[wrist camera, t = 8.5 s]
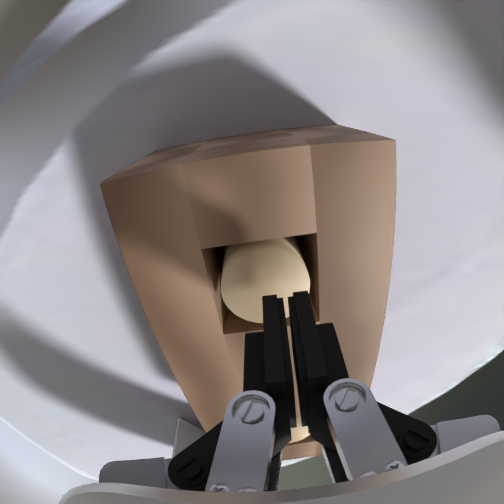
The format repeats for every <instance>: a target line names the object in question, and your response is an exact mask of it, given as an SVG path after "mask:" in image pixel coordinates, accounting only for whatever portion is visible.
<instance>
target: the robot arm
mask: <svg viewBox="0 0 504 504" xmlns="http://www.w3.org/2000/svg"><path fill="white" fill-rule="evenodd" d="M262 305H263V331H260V332H250V333H245V346H244V377H243V392H242V393H239V394H238V395H236V396H235V397H233V398H232V400H231V401H230V402H229V404H228V406H227V408H226V412H225V416H224V419H223V420H222V421H221V422H220V423H218V424H217V425H216V426H215V427H213V428H212V429H211V430H209V431H208V432H207V433H205V434H204V435H203V436H202V437H200V438H199V439H198V440H196V441H195V442H193V443H192V444H191V445H189V446H188V447H187V448H185V449H184V450H182V451H181V452H180V453H178V454H177V455H176V456H175V457H174V458H170V459H165V458H164V457H160V458H151V459H139V460H125V461H113V462H109V463H107V464H106V465H104V466H103V468H102V469H101V470H100V475H99V483H92V484H86V485H81V486H78V487H75V488H73V489H71V490H69V491H68V492H67V493H66V494H65V495H64V496H63V497H62V499H61V500H60V502H59V504H504V431H500V428H499V425H498V422H497V421H496V420H495V419H494V418H493V417H491V416H489V415H481V416H475V417H470V418H465V419H459V420H453V421H445V422H438V423H437V424H436V425H433V426H429V425H427V424H426V423H424V422H421V421H419V420H417V419H414V418H412V417H410V416H407V415H405V414H403V413H401V412H398V411H396V410H394V409H392V408H390V407H387V406H385V405H383V404H381V403H379V402H377V401H376V400H375V398H374V396H373V394H372V392H371V391H370V389H369V388H368V386H367V385H366V384H365V383H363V382H362V381H360V380H357V379H352V378H349V375H348V371H347V368H346V365H345V361H344V358H343V354H342V351H341V347H340V344H339V341H338V337H337V334H336V331H335V328H334V325H333V323H332V322H330V323H323V324H316V321H315V317H314V313H313V309H312V305H311V302H310V298H309V294H308V291H307V290H306V291H299V292H293V296H291V297H288V307H289V317H290V329H291V340H292V351H293V359H294V367H295V375H296V383H297V391H298V399H299V407H300V416H301V424H302V427H304V426H308V433H309V434H310V437H311V438H312V439H314V440H315V441H317V442H319V443H320V445H321V449H322V452H323V455H324V458H325V461H326V464H327V467H328V470H329V473H330V476H331V479H332V482H333V484H329V485H323V486H317V487H310V488H301V489H292V490H282V491H278V484H279V475H280V469H281V461H282V453H283V448H284V447H285V446H286V445H287V444H288V443H289V442H290V441H291V440H292V439H291V428H296V427H297V421H296V407H295V393H294V381H293V372H292V363H291V355H290V347H289V339H288V331H287V324H286V316H285V309H284V301H283V298H277V294H275V295H267V296H262Z"/></svg>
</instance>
